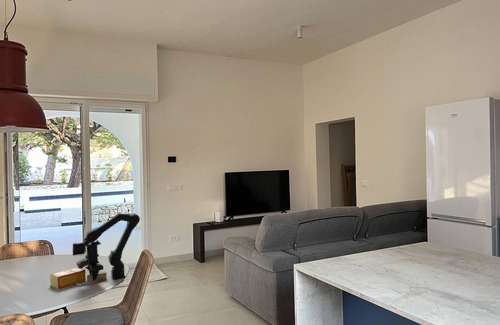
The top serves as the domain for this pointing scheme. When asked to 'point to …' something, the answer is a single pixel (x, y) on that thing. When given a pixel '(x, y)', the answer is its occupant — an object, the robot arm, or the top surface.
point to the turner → (90, 280)
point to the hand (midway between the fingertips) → (93, 279)
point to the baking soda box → (67, 277)
